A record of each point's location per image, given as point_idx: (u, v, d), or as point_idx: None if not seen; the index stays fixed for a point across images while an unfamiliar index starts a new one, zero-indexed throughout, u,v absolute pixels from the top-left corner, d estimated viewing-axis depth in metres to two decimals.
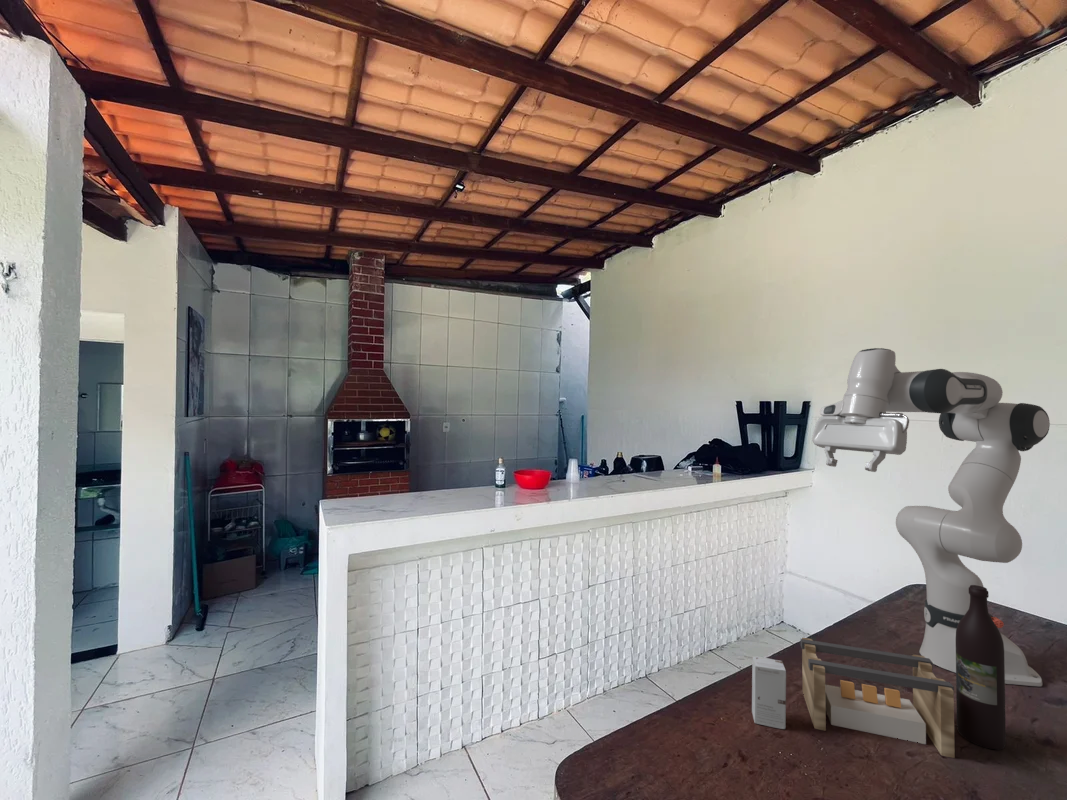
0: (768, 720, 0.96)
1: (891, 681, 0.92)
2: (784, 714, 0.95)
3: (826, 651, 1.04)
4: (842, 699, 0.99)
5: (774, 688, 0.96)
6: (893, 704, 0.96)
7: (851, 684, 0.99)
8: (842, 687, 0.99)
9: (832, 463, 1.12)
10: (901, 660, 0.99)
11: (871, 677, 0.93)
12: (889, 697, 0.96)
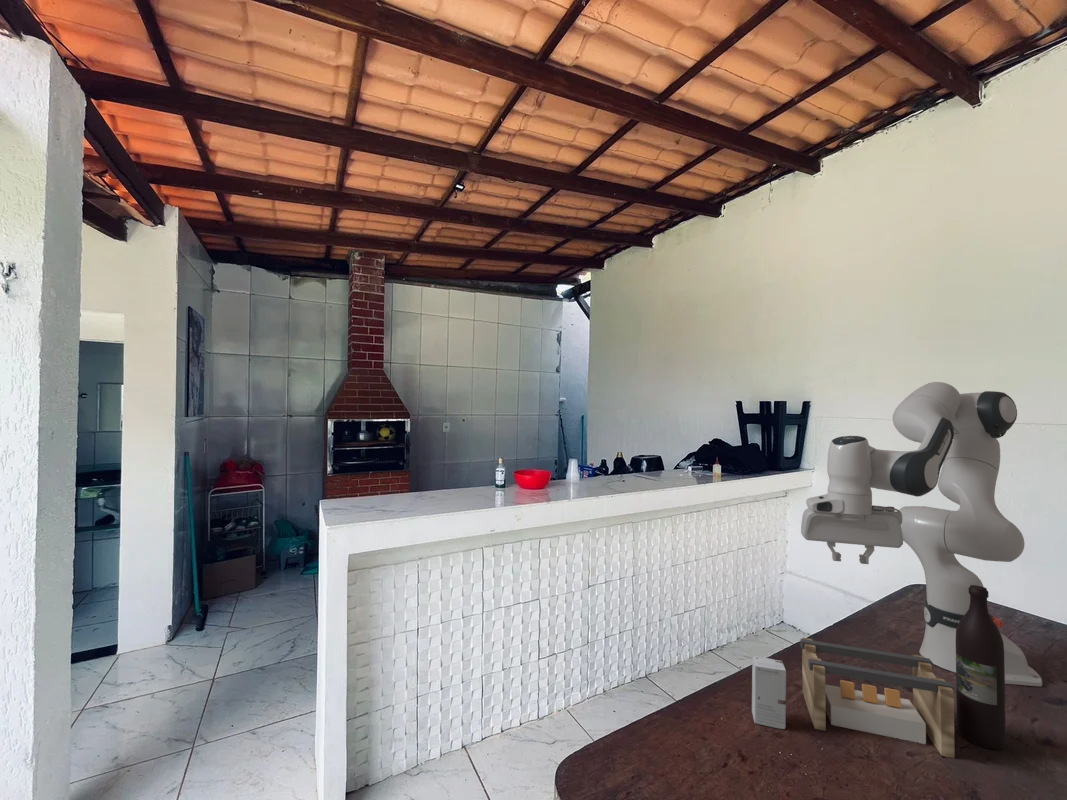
0: (768, 720, 0.96)
1: (891, 681, 0.92)
2: (784, 714, 0.95)
3: (826, 651, 1.04)
4: (842, 699, 0.99)
5: (774, 687, 0.96)
6: (893, 704, 0.96)
7: (851, 684, 0.99)
8: (842, 687, 0.99)
9: None
10: (901, 660, 0.99)
11: (871, 677, 0.93)
12: (889, 697, 0.96)
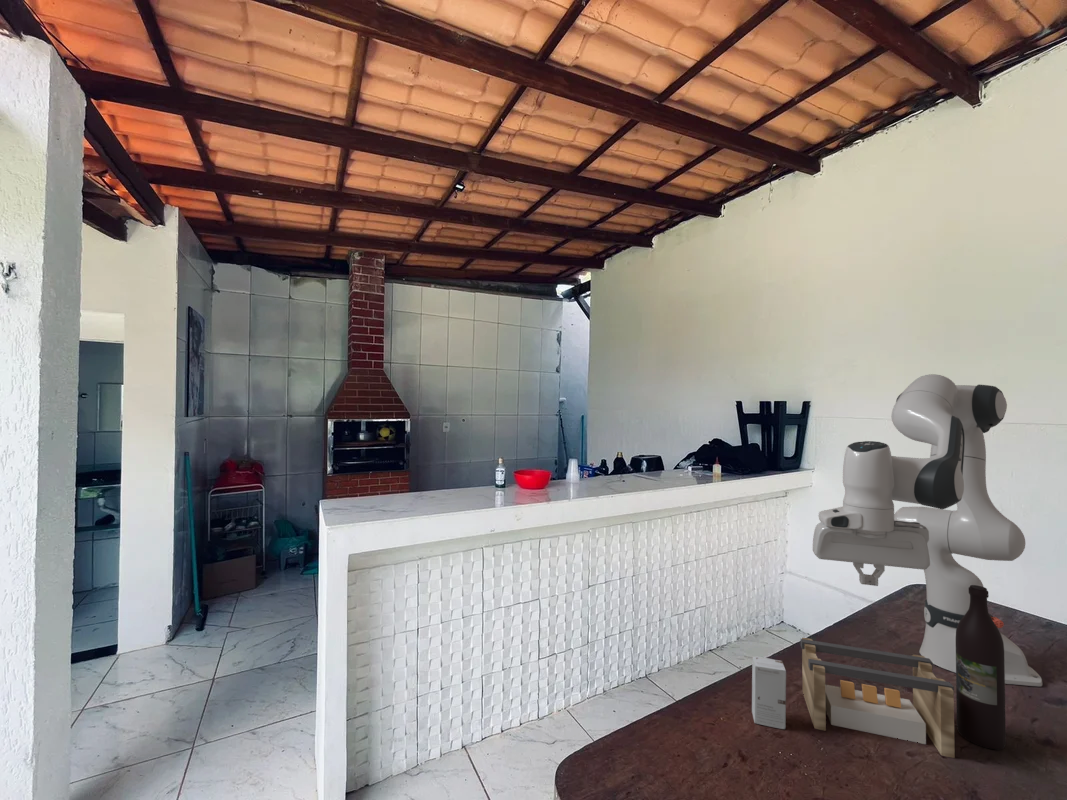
0: (768, 720, 0.96)
1: (891, 681, 0.92)
2: (784, 714, 0.95)
3: (826, 651, 1.04)
4: (842, 699, 0.99)
5: (774, 687, 0.96)
6: (893, 704, 0.96)
7: (851, 684, 0.99)
8: (842, 687, 0.99)
9: None
10: (901, 660, 0.99)
11: (871, 677, 0.93)
12: (889, 697, 0.96)
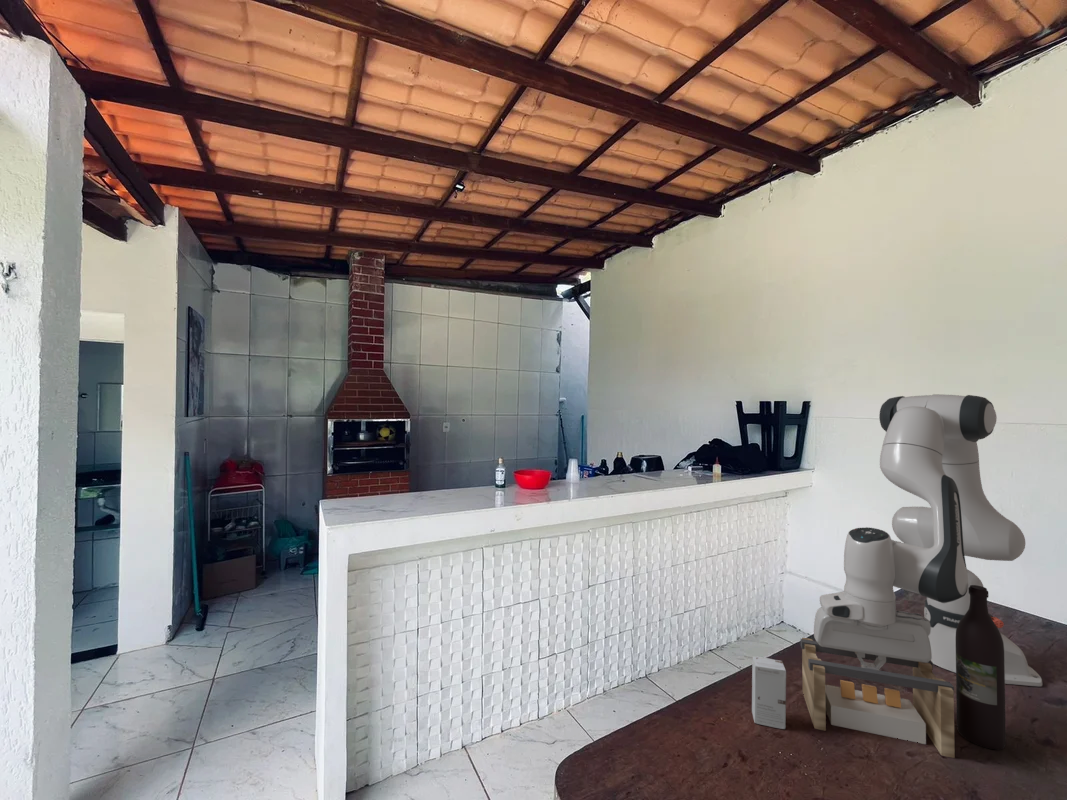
0: (768, 720, 0.96)
1: (891, 681, 0.92)
2: (784, 714, 0.95)
3: (826, 651, 1.04)
4: (842, 699, 0.99)
5: (774, 687, 0.96)
6: (893, 704, 0.96)
7: (851, 684, 0.99)
8: (842, 687, 0.99)
9: None
10: (901, 660, 0.99)
11: (871, 677, 0.93)
12: (889, 697, 0.96)
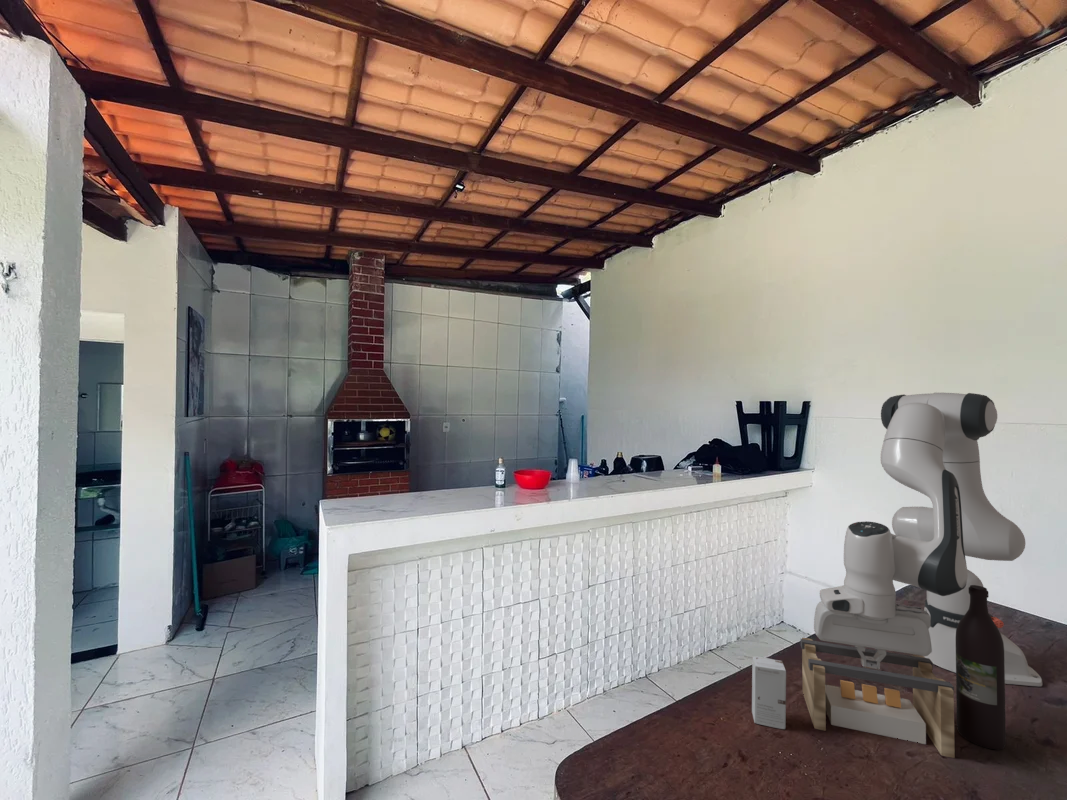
0: (768, 720, 0.96)
1: (891, 681, 0.92)
2: (784, 714, 0.95)
3: (826, 651, 1.04)
4: (842, 699, 0.99)
5: (774, 688, 0.96)
6: (893, 704, 0.96)
7: (851, 684, 0.99)
8: (842, 687, 0.99)
9: None
10: (901, 660, 0.99)
11: (871, 677, 0.93)
12: (889, 697, 0.96)
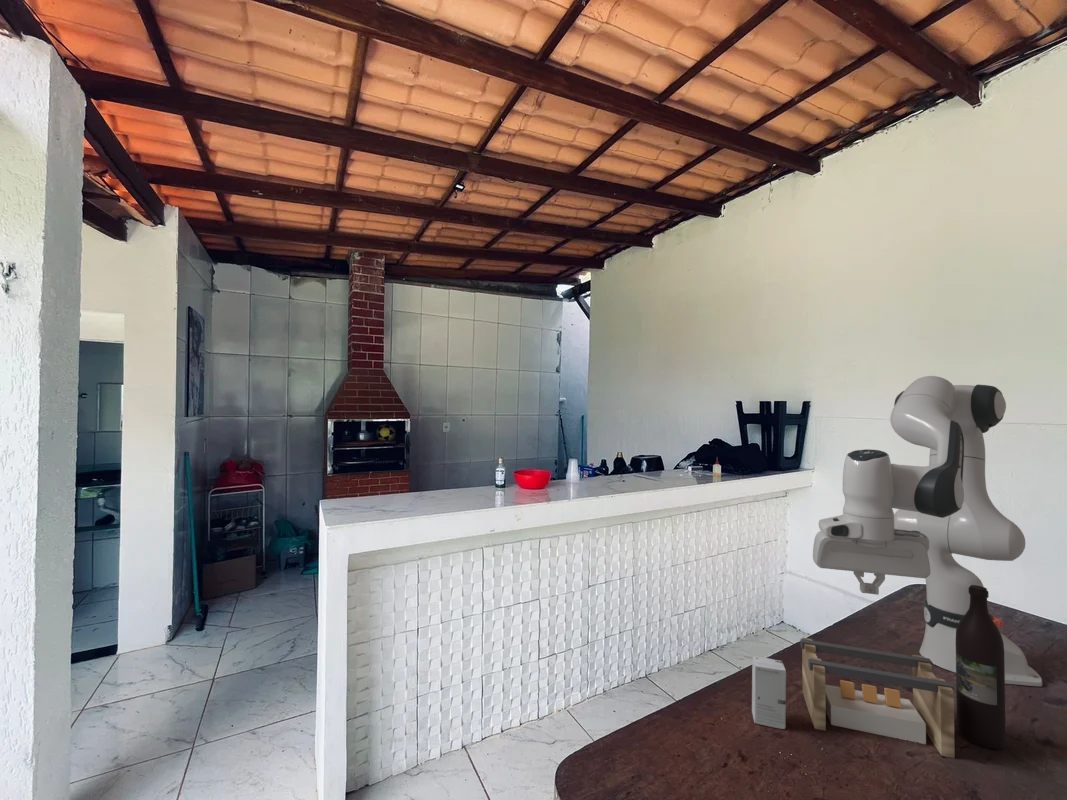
0: (768, 720, 0.96)
1: (891, 681, 0.92)
2: (784, 714, 0.95)
3: (826, 651, 1.04)
4: (842, 699, 0.99)
5: (774, 687, 0.96)
6: (893, 704, 0.96)
7: (851, 684, 0.99)
8: (842, 687, 0.99)
9: None
10: (901, 660, 0.99)
11: (871, 677, 0.93)
12: (889, 697, 0.96)
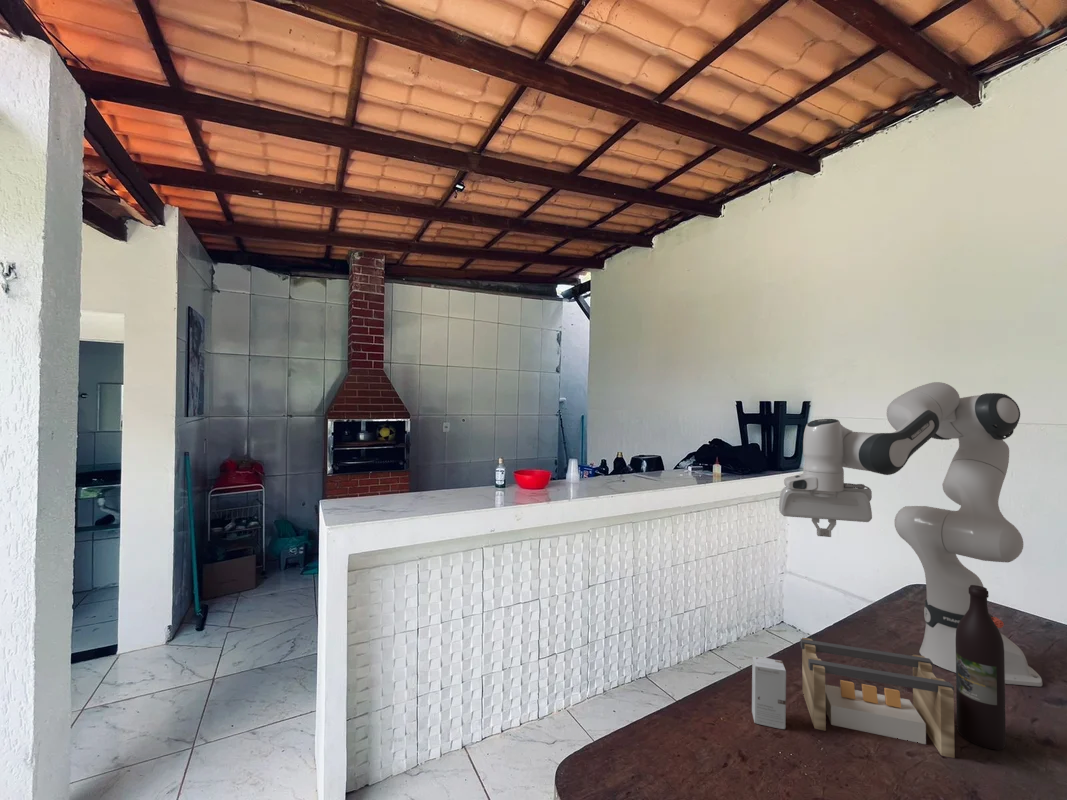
0: (768, 720, 0.96)
1: (891, 681, 0.92)
2: (784, 714, 0.95)
3: (826, 651, 1.04)
4: (842, 699, 0.99)
5: (774, 687, 0.96)
6: (893, 704, 0.96)
7: (851, 684, 0.99)
8: (842, 687, 0.99)
9: None
10: (901, 660, 0.99)
11: (871, 677, 0.93)
12: (889, 697, 0.96)
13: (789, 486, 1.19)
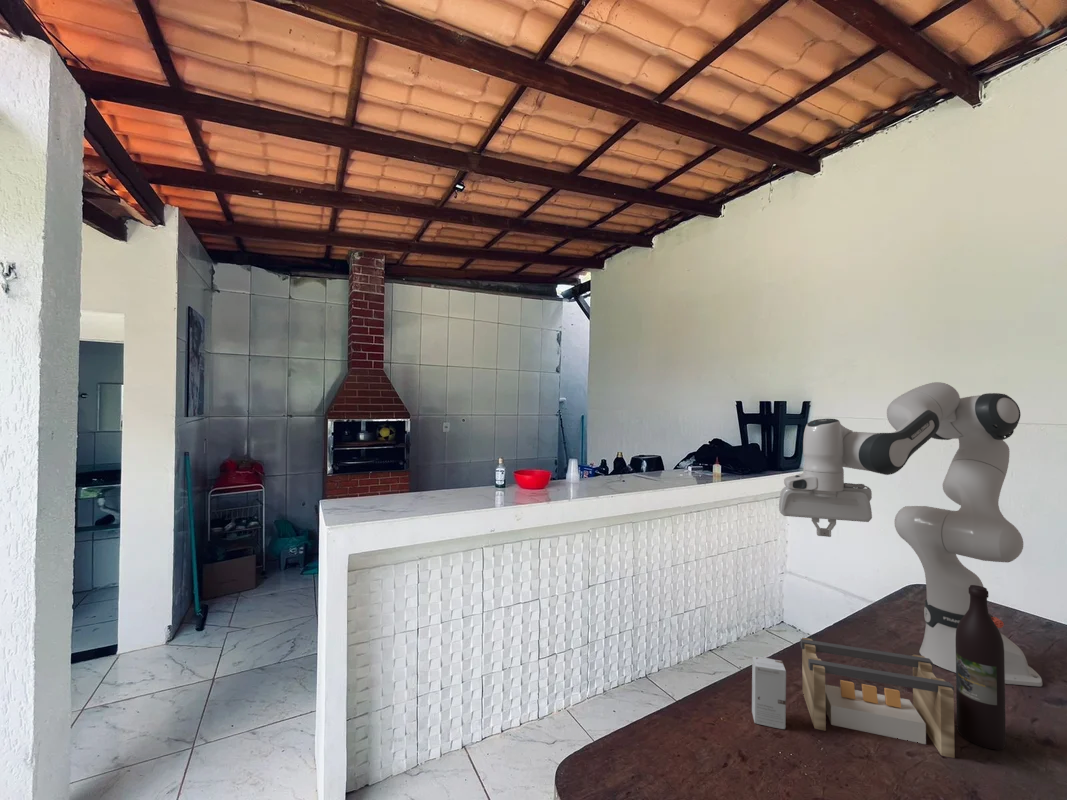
0: (768, 720, 0.96)
1: (891, 681, 0.92)
2: (784, 714, 0.95)
3: (826, 651, 1.04)
4: (842, 699, 0.99)
5: (774, 688, 0.96)
6: (893, 704, 0.96)
7: (851, 684, 0.99)
8: (842, 687, 0.99)
9: None
10: (901, 660, 0.99)
11: (871, 677, 0.93)
12: (889, 697, 0.96)
13: (789, 486, 1.19)
